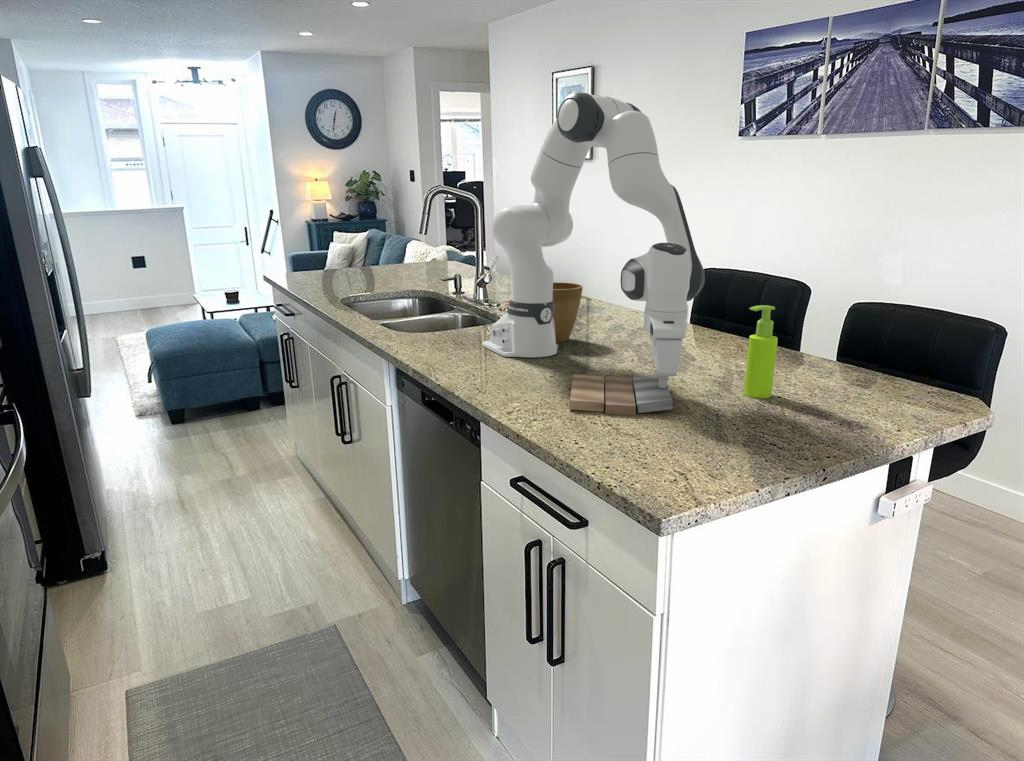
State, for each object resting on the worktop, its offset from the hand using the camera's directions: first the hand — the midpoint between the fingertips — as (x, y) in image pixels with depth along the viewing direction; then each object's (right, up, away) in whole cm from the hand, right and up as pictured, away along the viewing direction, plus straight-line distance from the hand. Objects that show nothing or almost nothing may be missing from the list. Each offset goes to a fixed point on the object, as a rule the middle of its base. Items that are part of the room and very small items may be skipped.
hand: (662, 386), depth 155 cm
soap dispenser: (+22, -2, +6) cm, 23 cm away
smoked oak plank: (-16, -2, +3) cm, 16 cm away
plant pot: (-20, +13, +58) cm, 62 cm away
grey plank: (-2, -2, +1) cm, 3 cm away
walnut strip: (-9, -3, +2) cm, 10 cm away
